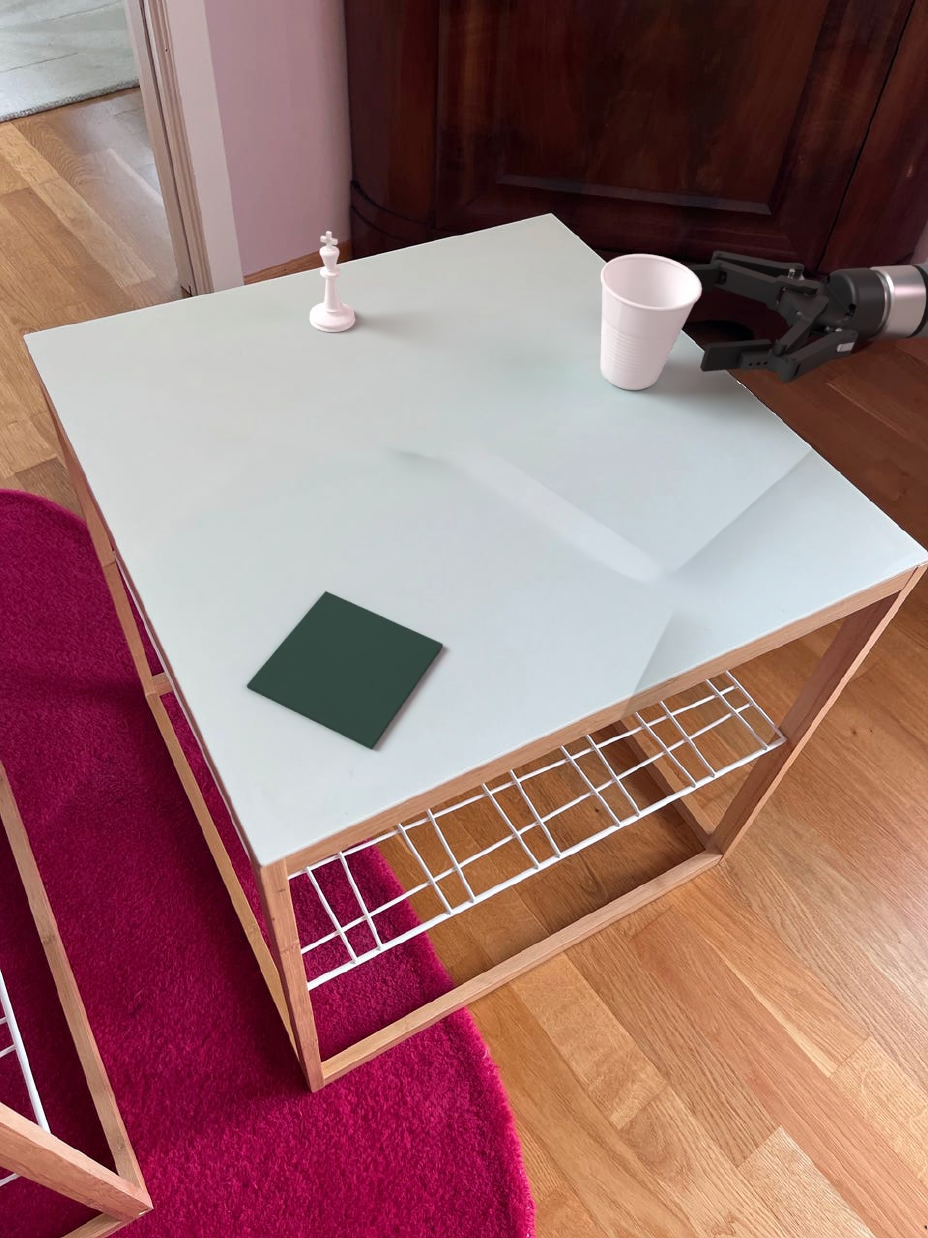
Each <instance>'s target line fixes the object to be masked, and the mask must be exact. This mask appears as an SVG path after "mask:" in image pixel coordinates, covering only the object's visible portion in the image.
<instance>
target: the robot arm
mask: <svg viewBox="0 0 928 1238" xmlns="http://www.w3.org/2000/svg"><path fill="white" fill-rule="evenodd" d="M685 267H687V268H688V269H690V270H691V271H692V272H693V273H694V274H695V275H696V276H697V277H698V279H699V281H700V283H701V287H702V291H701V293H711V292H713V290H714V288H718V289H721V290H723V291H726V292H730V293H733V294H736V295H739V296H742V297H745V298H748V299H752V300H754V301H757V302H761V303H764V304H765V305H766V307H767V309H769V310H771V311H773V312H777V313H779V315H780V316H781V317H782V318H784V319H785V322H786V324H787V326H788V328H790V329H789V330H788V331H787V332H785V334H784V335H783V336H782V337H781V338H779V339H778V338H776V340H775V342H774V345H773V344H772V341H771V340H770V339H769V338H767V339H766V338H765V339H752V340H738V341H725V342H713V343H706V346H705V350H704V352H703V356H702V358H701V362H700V365H699V368H700V370H701V371H702V372H705V373H706V372H718V371H728V370H740V371H757V370H767V371H768V372H771V373H776V372H777V374H779V380H780V381H781V382H783V383H786V384H790V383H793V382H794V381H795V380H797V379H799V378H800V377H802V376H805V375H806V374H808V373H810V372H812V371H813V370H816V369H818V368H819V367H821V366H823V365H825V364H826V363H829V362H830V361H832V360H836V359H842V358H846V357H847V358H848V357H849V356H850V354H851V353H852V350H853V348H854V345H855V344H857V343H864V342H866V341H867V342H876V341H886V340H897V339H898V340H899V339H902V340H903V339H917V338H928V257H927V258H926V260H925V262H923V263H916V264H915V263H914V264H906V265H885V266H872V267H855V268H841V269H840V268H839V269H837V270H834V271H832V272H830V273H829V274H828V275H827V276H825V277H824V278H823V279H821V280H811V279H806V278H805V277H804V275H803V273H804V269H805V265H804V264H802V263H801V262H780V261H775V260H769V259H764V258H758V257H754V256H748V255H743V254H738V253H733V252H727V251H721V250H714V251H713V253H712V256H711V260H710V263H708V264H693V265H686V266H685ZM781 291H783V293H782V295H781V297H780V300H779V296H780V294H781ZM815 336H817V337H820V338H819V339H817V340H815V341H813V342H811V343H810V344H807V343H808V342H809V341H810V340H811V339H812V338H814V337H815ZM806 344H807V345H806ZM772 345H773V348H771V347H772ZM805 345H806V346H805ZM801 347H802V348H801Z"/></svg>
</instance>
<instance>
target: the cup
mask: <svg viewBox="0 0 928 1238" xmlns="http://www.w3.org/2000/svg"><path fill="white" fill-rule="evenodd" d="M600 282H601V284H602V285H601V286H602V288H601V334H600V336H601V338H600V372H601V375H602V376H603V378H605V380H606V381H607V382H608V383H610V384H612V385H613V386H615V387H617V388H619V389H623V390H626V391H627V390H628V391H640V390H645V389H647V388H650V387H651V386H653V385H654V384H656V382H657V381H658V379H659V377H660V375H661V373H662V371H663V368H664V366H665V364H666V362H667V361H668V359H669V355H670V354H671V352H672V350H673V348H674V346H675V343H676V342H677V340H678V337H679V336H680V334H681V331H682V329H683V327H684V325H685V323H686V322H687V319H688V317H689V315H690V313H691V311H692V309H693V307H694V305H695V303H696V302H698V300H699V299H700V298H701V296H702V292H701V291H702V287H701V283H700V281H699V279H698V277H697V276H696V275H695V274H694V273H693V272H692V271H691V270H690V269H688V268H687V267H686V266H685V265H683V264H681V262H678V261H676V260H673V259H671V258H667V257H665V256H661V255H660V256H659V255H655V254H648V253H633V254H625V255H621V256H617V257H615V258H612V259H611V260H609V261H608V262H607V263H606V264H605V265H604V266H603V267H602V269H601V272H600Z"/></svg>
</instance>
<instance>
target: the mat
mask: <svg viewBox="0 0 928 1238" xmlns="http://www.w3.org/2000/svg"><path fill="white" fill-rule="evenodd" d="M443 647H444V645H443V643H442V642H439V641H437V640H435V639H433V638H431V637H429V636H427V635H424V634H422V633H420V632H417V631H415V630H413V629H411V628H408V627H406V626H404V625H402V624H400V623H398V622H395V621H393V620H391V619H389V618H387V617H384V616H382V615H380V614H377V613H375V612H373V611H372V610H368V609H367V608H365V607H362V606H360V605H358V604H355V603H353V602H351V601H350V600H347V599H345V598H342V597H340V596H338V595H336V594H334V593H331V592H329V591H327V590H325V591H324V592H323V593H322V594H321V596H320V597H319V598H318V599H317V600H316V602H315V603H314V604H313V605H312V606H311V608H309V610H307V612H306V614H305V615H304V616H303V617H302V619H301V620H300V621H299V622H298V623H297V624H296V626H294V628H293V629H292V631H290V633H289V634H288V635H287V636H286V637H285V639H284V640H283V641H282V642H281V643H280V645H279V646H278V647H277V648H276V649H275V650H274V652H272V654H271V655H270V656H269V658H268V659H267V660H266V661H265V662H264V664H263V665H262V666H261V667H260V668H259V670H258V671H257V672H256V673H255V674H254V676H253V677H252V678H251V679H250V680H249V681H248V683H247V684H246V688H247V689H249V690H251V691H253V692H255V693H256V694H258V695H261V696H263V697H265V698H266V699H269V700H271V701H273V702H275V703H277V704H279V705H281V706H283V707H285V708H287V709H289V710H291V711H293V712H295V713H297V714H299V715H301V716H303V717H305V718H307V719H308V720H311V721H314V722H315V723H317V724H320V725H322V726H324V727H325V728H327V729H329V730H332V731H334V732H335V733H338V734H340V735H341V736H344V737H345V738H347V739H350V740H351V741H354V742H355V743H358V744H360V745H362V746H364V747H366V748H368V749H370V750H373V749H374V747H375V746H376V744H377V743H378V742H379V740H380V739H381V737H382V736H383V734H384V733H385V731H386V730H387V728H388V727H389V725H390V724H391V723H392V721H393V720H394V718H395V717H396V715H397V714H398V712H399V711H400V709H401V708H402V707H403V705H404V704H405V702H406V701H407V699H408V698H409V697H410V695H411V694H412V693H413V691H414V690H415V688H416V687H417V685H418V683H419V682H420V681H421V679H422V678H423V676H424V675H425V674H426V671H427V670H428V669H429V668H430V666H431V665H432V663H433V662H434V660H435V659H436V657H437V656H438V655H439V653H440V651H441V650H442V649H443Z"/></svg>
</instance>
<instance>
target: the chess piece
mask: <svg viewBox="0 0 928 1238" xmlns="http://www.w3.org/2000/svg"><path fill="white" fill-rule="evenodd" d="M332 235H333V233H332V231H329V230H327V231H326V232H325V235H321V236H320V238H319V239H320V240H319V241H320V243H325V245H324V246H322V247H321V248H319V255H320V257H321V259H322V262H323V265H324V266H323V267H321V268H320V271H319V274H320V276H321V277H323V278H325V289H324V298H323V302H320V303H318V304H316V305H314V306H313V307H312V308H311V310H310V311H309V322H310V324H311V325H312V327H314V328H315V329H317V330H319V331H322V332H325V333H341V332H343V331H346V330H349V329H350V328H352V327H353V326H354V325H355V323H356V316H355V312H354V310H353V308H352V307H351V306H350V305H348V304H346V303H344V302H341V301H340V299H339V292H338V286H337V281H336V279H337V278H339V277H340V276H341V274H342V272H341V269H340V268H339V267H337V263H338V259H339V256H340V249H339V248H338V247H337V245H338V243H339V241H338V240H339V239H338V238H335V237H333V236H332Z"/></svg>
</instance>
